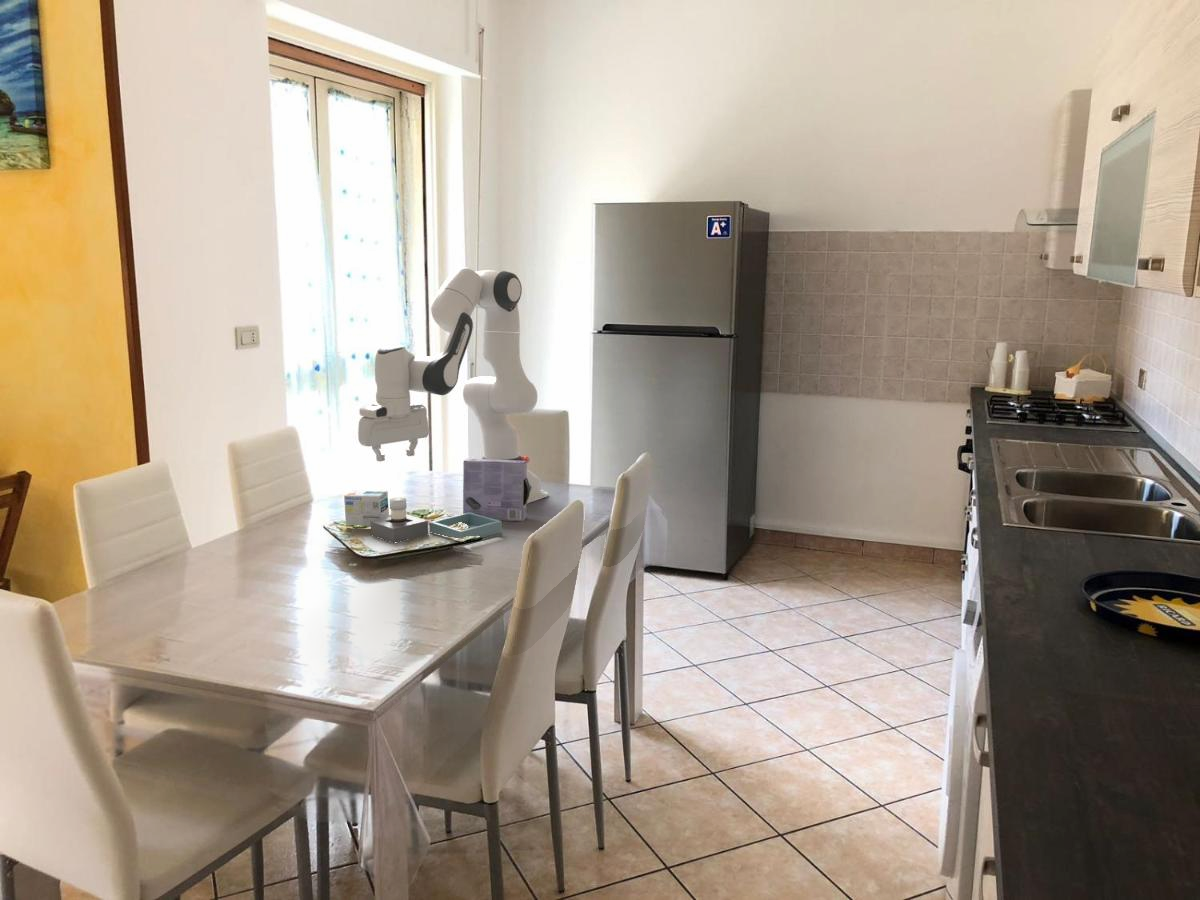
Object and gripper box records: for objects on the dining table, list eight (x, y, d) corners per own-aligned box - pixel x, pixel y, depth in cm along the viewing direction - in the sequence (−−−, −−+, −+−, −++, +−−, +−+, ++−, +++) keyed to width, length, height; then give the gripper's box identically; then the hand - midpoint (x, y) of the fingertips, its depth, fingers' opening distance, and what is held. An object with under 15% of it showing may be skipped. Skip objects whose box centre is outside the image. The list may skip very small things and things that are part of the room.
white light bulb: (401, 531, 258) (400, 496, 256) (411, 534, 255) (409, 499, 253) (388, 535, 255) (386, 499, 253) (397, 538, 252) (395, 502, 250)
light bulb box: (390, 526, 267) (388, 490, 265) (382, 533, 260) (380, 495, 258) (354, 526, 268) (351, 489, 266) (345, 532, 261) (343, 495, 259)
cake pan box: (530, 517, 276) (529, 458, 273) (527, 522, 271) (526, 462, 268) (466, 516, 278) (464, 457, 274) (462, 520, 273) (460, 461, 269)
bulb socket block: (405, 530, 263) (404, 513, 262) (428, 538, 255) (427, 520, 254) (371, 538, 255) (370, 521, 254) (394, 547, 248) (393, 528, 247)
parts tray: (469, 525, 267) (469, 512, 267) (502, 535, 258) (501, 521, 257) (429, 536, 257) (429, 522, 257) (461, 546, 248) (461, 531, 247)
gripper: (419, 401, 258) (420, 451, 260) (353, 410, 243) (356, 462, 246) (432, 404, 253) (434, 454, 256) (367, 412, 239) (369, 465, 241)
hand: (395, 458), depth 251 cm, fingers open, 8 cm apart
